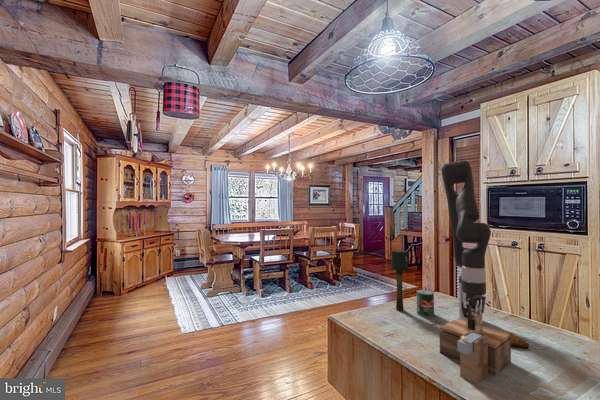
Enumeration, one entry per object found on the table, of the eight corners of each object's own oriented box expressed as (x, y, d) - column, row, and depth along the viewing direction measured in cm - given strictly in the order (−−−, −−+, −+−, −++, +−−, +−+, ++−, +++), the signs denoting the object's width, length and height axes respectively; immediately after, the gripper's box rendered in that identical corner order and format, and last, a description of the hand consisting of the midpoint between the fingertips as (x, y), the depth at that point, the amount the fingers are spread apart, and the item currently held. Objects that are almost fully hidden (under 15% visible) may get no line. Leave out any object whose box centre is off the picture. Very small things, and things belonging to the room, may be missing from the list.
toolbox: (457, 342, 117) (457, 310, 117) (510, 362, 103) (510, 325, 103) (426, 360, 104) (425, 324, 104) (482, 386, 90) (481, 344, 90)
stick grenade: (410, 313, 148) (409, 252, 148) (391, 312, 149) (391, 252, 150) (407, 307, 156) (406, 249, 156) (390, 306, 158) (389, 249, 158)
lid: (457, 320, 117) (457, 302, 117) (510, 337, 103) (510, 316, 103) (440, 329, 109) (440, 310, 109) (494, 348, 95) (494, 326, 95)
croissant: (485, 341, 118) (485, 328, 118) (489, 335, 123) (488, 323, 123) (527, 352, 109) (527, 339, 109) (530, 346, 114) (530, 333, 114)
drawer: (472, 341, 98) (472, 328, 98) (482, 345, 95) (482, 331, 95) (457, 350, 92) (457, 337, 92) (467, 354, 90) (467, 340, 90)
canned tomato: (425, 310, 152) (424, 288, 152) (437, 315, 145) (437, 292, 145) (413, 312, 149) (412, 290, 149) (425, 318, 142) (425, 295, 142)
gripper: (471, 274, 113) (472, 319, 113) (452, 280, 105) (453, 329, 105) (493, 278, 107) (494, 326, 107) (475, 285, 99) (476, 337, 99)
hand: (474, 327), depth 106 cm, fingers closed on lid, 3 cm apart
